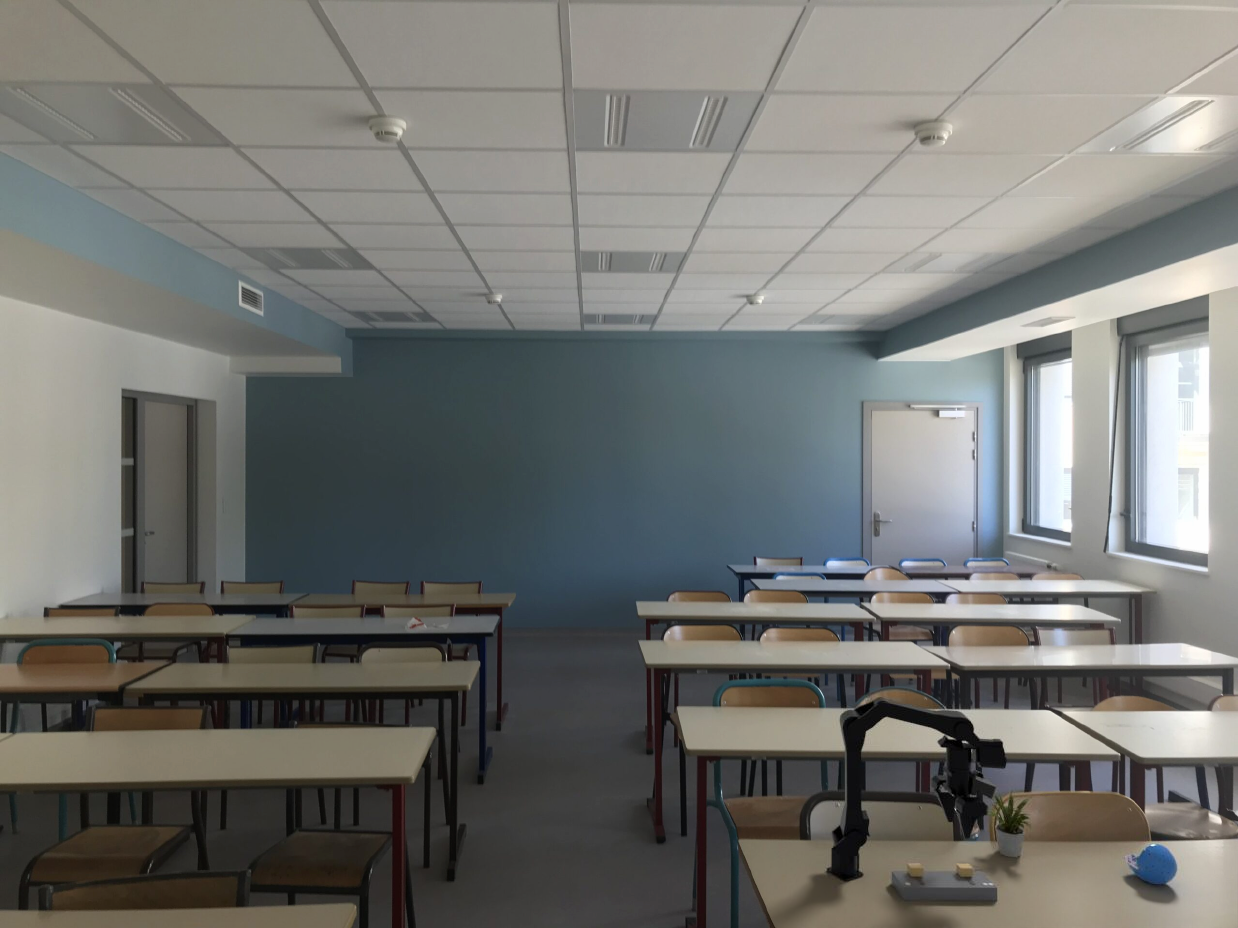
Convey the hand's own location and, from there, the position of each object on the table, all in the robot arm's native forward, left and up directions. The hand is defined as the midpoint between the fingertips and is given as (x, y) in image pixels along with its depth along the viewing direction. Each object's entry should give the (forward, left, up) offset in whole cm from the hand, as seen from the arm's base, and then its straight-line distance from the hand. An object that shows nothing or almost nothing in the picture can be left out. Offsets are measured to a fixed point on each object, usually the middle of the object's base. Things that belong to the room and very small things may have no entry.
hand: (958, 829), depth 197 cm
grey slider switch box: (-7, -1, -13) cm, 15 cm away
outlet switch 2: (-1, -2, -10) cm, 10 cm away
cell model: (+43, -22, -13) cm, 50 cm away
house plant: (+25, +5, -13) cm, 29 cm away
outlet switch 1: (-11, +3, -10) cm, 15 cm away
